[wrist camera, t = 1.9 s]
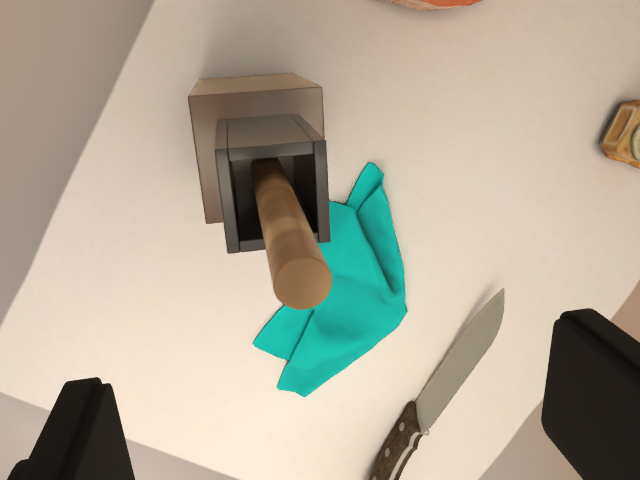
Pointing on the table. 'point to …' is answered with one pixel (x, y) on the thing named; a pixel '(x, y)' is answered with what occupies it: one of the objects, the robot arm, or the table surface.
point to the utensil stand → (259, 150)
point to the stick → (288, 239)
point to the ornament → (624, 134)
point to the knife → (439, 390)
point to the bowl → (434, 3)
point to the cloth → (344, 293)
